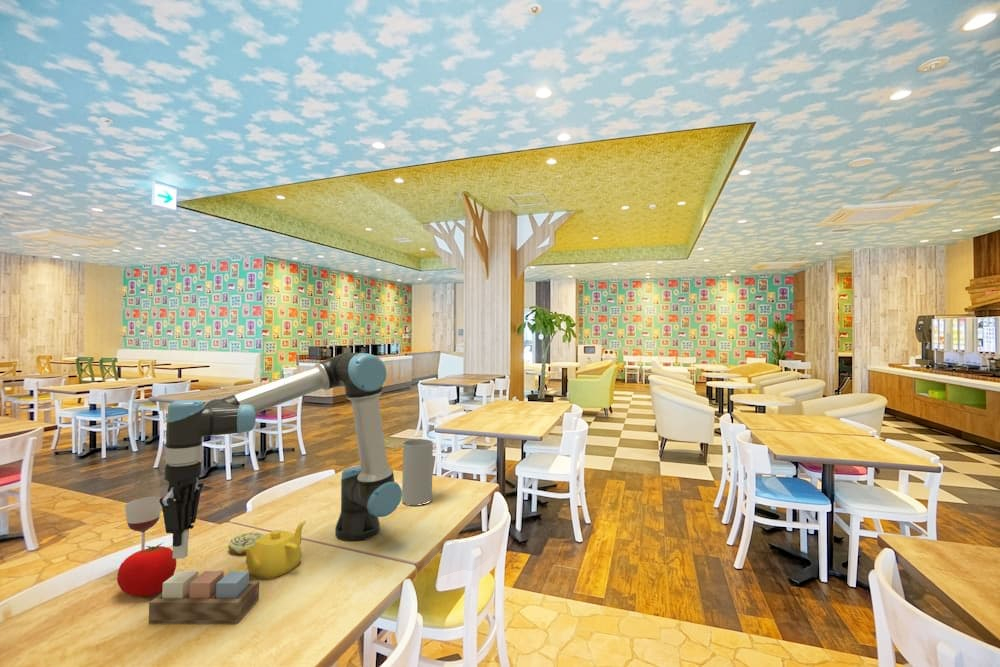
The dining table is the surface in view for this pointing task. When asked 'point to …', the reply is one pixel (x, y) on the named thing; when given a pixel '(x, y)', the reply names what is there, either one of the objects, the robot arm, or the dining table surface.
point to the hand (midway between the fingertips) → (180, 556)
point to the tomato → (146, 571)
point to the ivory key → (178, 585)
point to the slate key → (232, 585)
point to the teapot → (274, 553)
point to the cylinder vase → (417, 471)
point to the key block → (203, 608)
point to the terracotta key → (205, 585)
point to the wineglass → (143, 514)
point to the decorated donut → (243, 542)
